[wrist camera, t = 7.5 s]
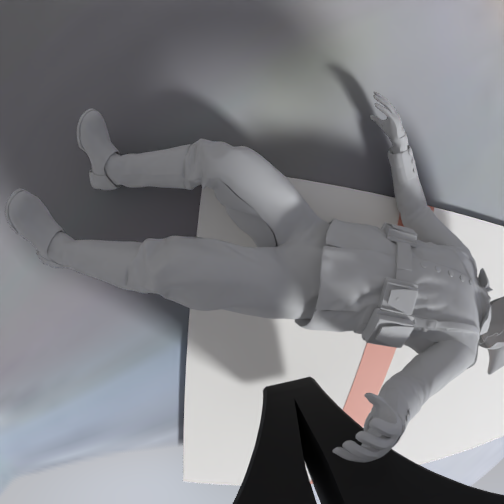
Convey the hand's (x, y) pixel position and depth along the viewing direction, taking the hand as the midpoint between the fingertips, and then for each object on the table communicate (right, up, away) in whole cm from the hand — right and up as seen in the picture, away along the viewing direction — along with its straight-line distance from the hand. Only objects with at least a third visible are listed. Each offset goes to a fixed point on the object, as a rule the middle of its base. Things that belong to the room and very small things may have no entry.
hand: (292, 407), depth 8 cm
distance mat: (+7, 0, +2) cm, 7 cm away
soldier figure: (0, +5, 0) cm, 5 cm away
